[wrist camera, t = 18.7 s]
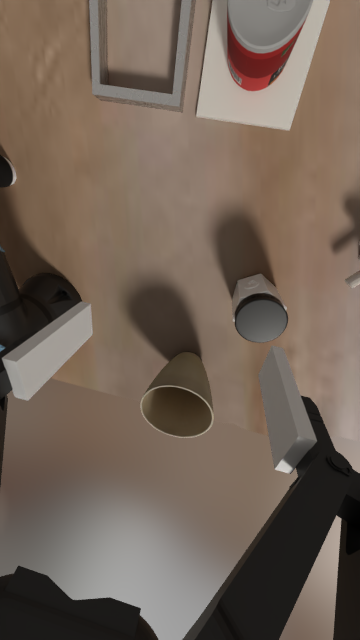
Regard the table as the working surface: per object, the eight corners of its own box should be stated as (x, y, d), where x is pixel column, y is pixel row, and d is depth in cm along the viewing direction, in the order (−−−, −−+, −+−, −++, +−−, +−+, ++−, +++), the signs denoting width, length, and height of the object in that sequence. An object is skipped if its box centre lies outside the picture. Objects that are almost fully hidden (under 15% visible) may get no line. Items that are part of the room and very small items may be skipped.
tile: (196, 117, 34) (196, 115, 34) (218, -34, 27) (218, -38, 27) (288, 130, 33) (289, 129, 32) (336, -23, 26) (338, -28, 25)
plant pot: (226, 375, 57) (226, 431, 44) (178, 389, 63) (164, 442, 50) (200, 330, 52) (190, 377, 39) (150, 349, 58) (126, 396, 44)
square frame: (100, 100, 35) (92, 94, 33) (97, -40, 29) (87, -60, 26) (182, 112, 34) (179, 106, 32) (199, -31, 27) (197, -51, 25)
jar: (272, 268, 43) (286, 291, 32) (279, 305, 46) (295, 336, 36) (226, 282, 46) (226, 306, 35) (236, 315, 49) (239, 347, 39)
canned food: (278, 96, 31) (300, 53, 22) (221, 91, 32) (218, 46, 22) (299, 11, 27) (338, -87, 18) (234, 7, 28) (238, -89, 19)
